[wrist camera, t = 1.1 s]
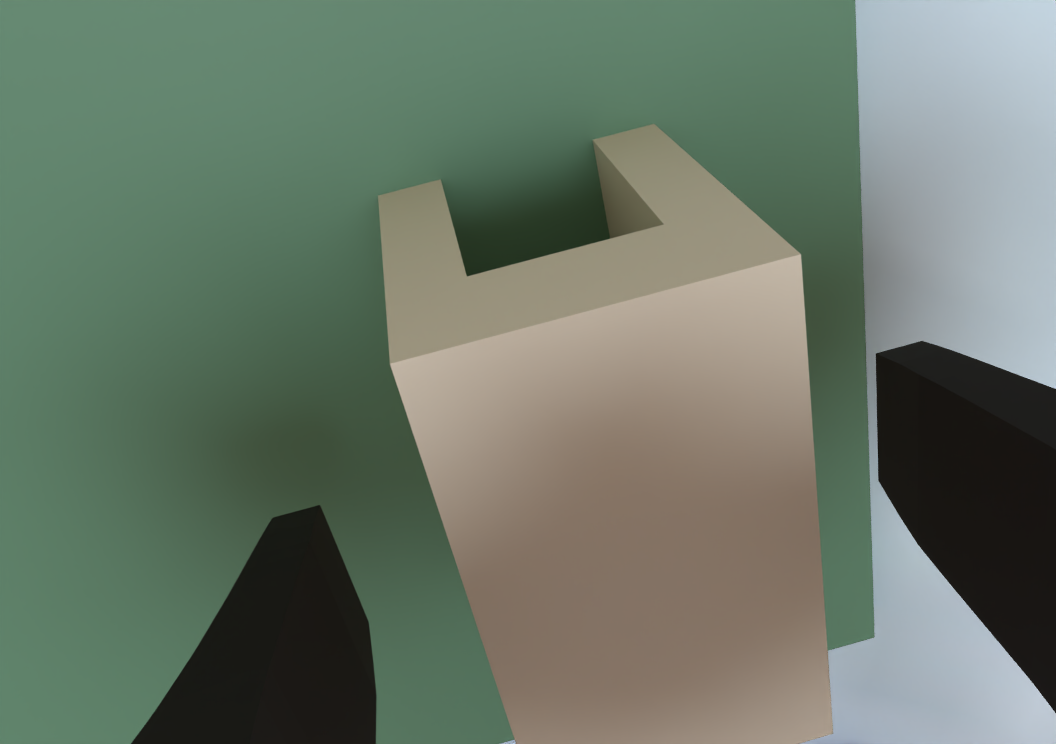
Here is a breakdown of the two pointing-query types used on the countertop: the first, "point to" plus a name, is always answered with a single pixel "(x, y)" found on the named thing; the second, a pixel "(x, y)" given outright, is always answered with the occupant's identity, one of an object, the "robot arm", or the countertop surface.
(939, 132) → the countertop surface
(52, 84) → the header board
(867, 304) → the countertop surface
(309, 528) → the robot arm
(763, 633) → the beige u-shaped channel block
